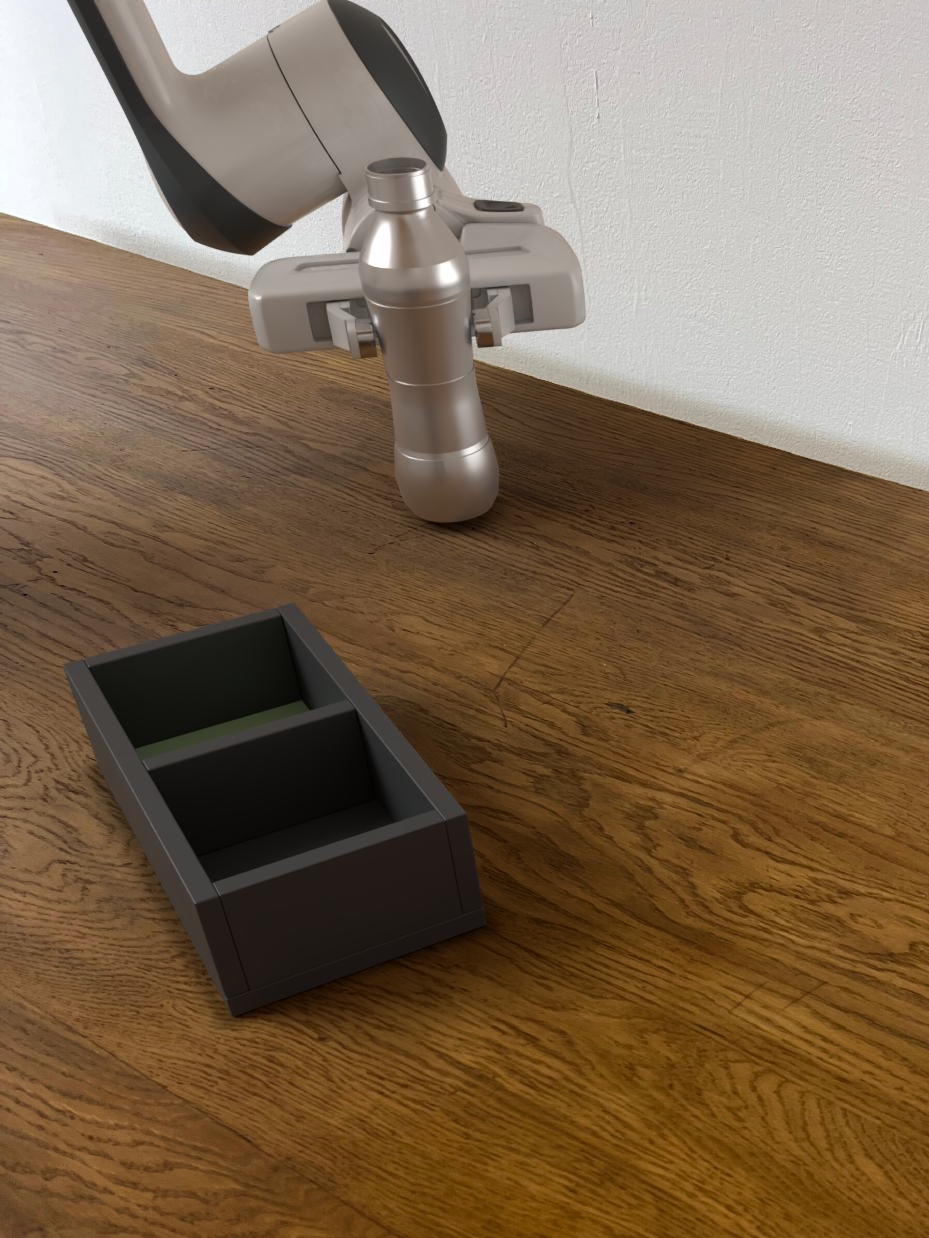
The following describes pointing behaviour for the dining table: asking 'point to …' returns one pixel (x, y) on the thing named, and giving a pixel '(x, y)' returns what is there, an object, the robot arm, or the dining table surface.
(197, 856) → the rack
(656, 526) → the dining table surface
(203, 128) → the robot arm
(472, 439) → the silver metal bottle
